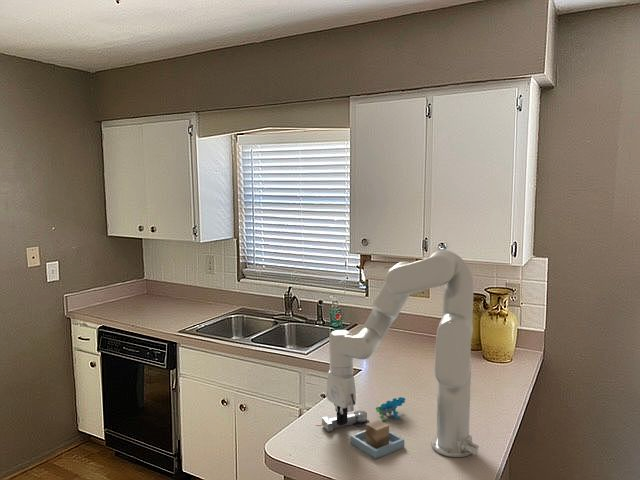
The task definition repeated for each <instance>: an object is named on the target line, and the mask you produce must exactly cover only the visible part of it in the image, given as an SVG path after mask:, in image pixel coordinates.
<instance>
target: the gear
mask: <svg viewBox="0 0 640 480" xmlns="http://www.w3.org/2000/svg"><path fill="white" fill-rule="evenodd" d="M385 402H386V403H382V404H381V405H380V406H376V407H375V410H376V411H375V412H376V413H378V414H379V415H380V416H381V418H382V420H383V422H384V421H386V418H385V417H386V416H385V415H384V414H387V413H390V412H392V413H393V416H394V418H395V420H399V419H400V418H399V415H398V413H397V408H398V407H401V406H403V404H405V403H406V398H405V397H401V396H400V397H398V398H396V397H395V398H393V399H392V400H387V401H385Z"/></svg>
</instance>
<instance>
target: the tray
mask: <svg viewBox="0 0 640 480" xmlns="http://www.w3.org/2000/svg"><path fill="white" fill-rule="evenodd" d="M349 437H350V438H349V439H350V444H351V445H352V446H353V447H355V448H357V449H358V450H360V451H362V452H363V453H365V454H366V455H368V456H370V457H371V458H372V459H374V460H377V459H380V458H383V457H385V456H387V455H389V454H392V453H394V452H396V451H399V450H401V449H404V448H405V439H404V438H403V437H401V436H400V435H397V433H396V434H395V433H394V432H392V431H391V430H389V444H387V445H385V446H383V447H380V448H378V449H376V448H374V447H372V446H371V445H369V444H367V443H366V429H364V430H362V431H359V432H356V433H354V434H351V435H350V436H349Z"/></svg>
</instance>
